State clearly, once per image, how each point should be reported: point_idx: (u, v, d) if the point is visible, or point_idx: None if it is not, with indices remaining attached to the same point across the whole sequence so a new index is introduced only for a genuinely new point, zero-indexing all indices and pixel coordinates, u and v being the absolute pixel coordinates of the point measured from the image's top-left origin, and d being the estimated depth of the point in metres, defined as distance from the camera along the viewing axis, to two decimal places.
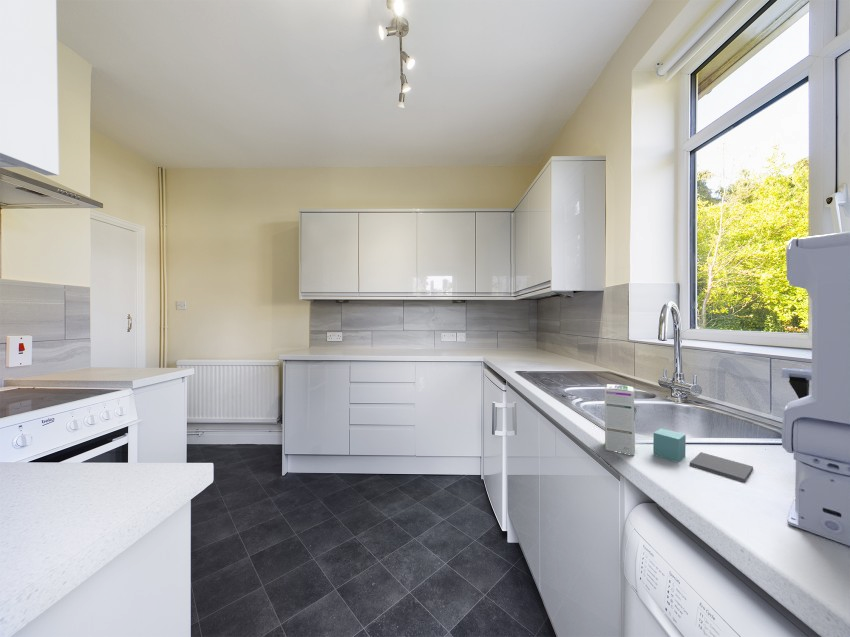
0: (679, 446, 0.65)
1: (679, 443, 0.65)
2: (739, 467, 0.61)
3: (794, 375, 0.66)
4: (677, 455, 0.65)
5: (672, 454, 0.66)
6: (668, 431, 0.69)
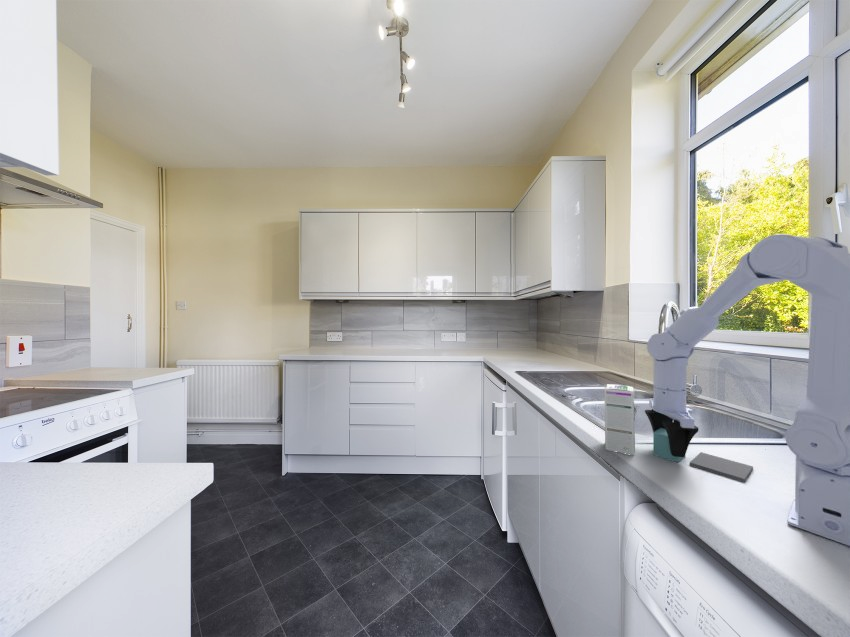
0: None
1: None
2: (739, 467, 0.61)
3: None
4: None
5: None
6: None
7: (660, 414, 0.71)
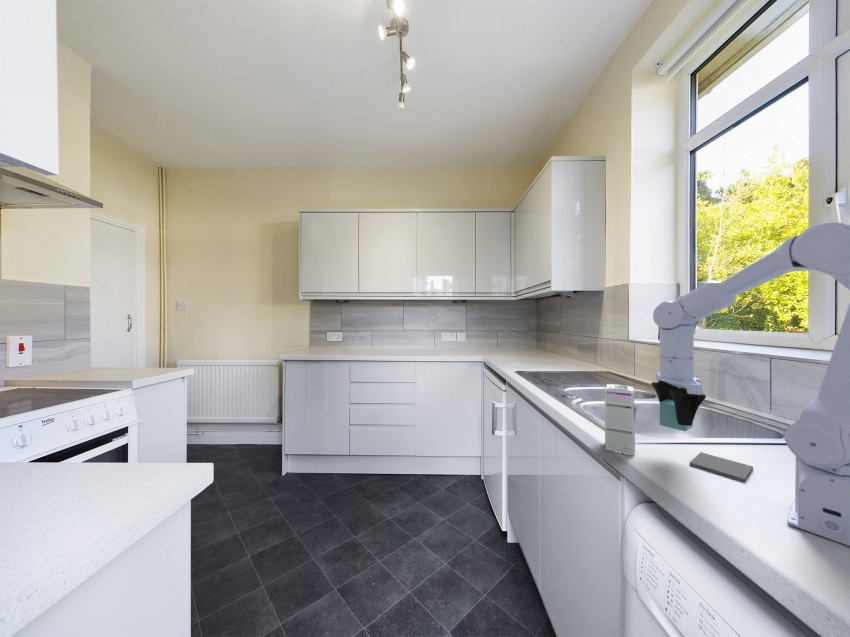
0: None
1: None
2: (739, 467, 0.61)
3: None
4: None
5: None
6: None
7: (667, 385, 0.70)
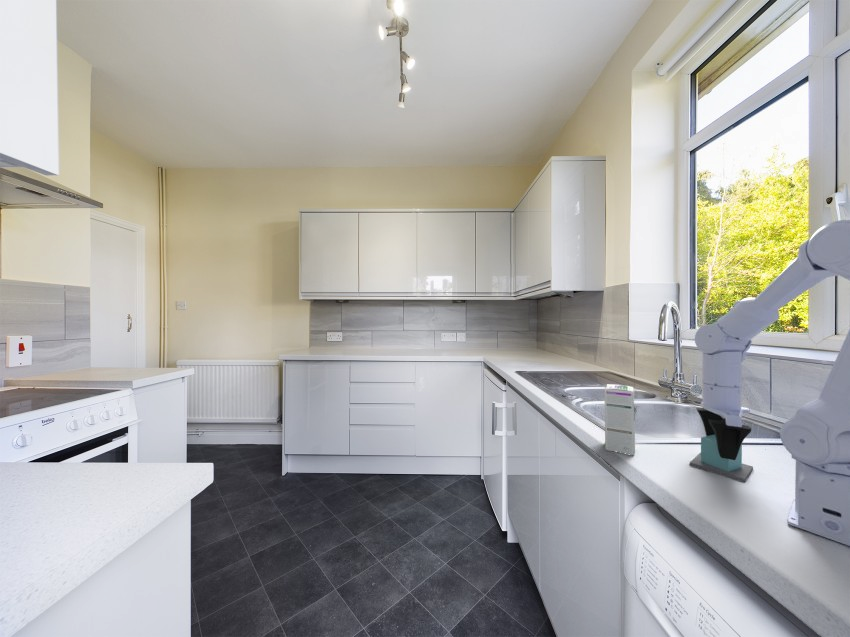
0: None
1: None
2: None
3: None
4: (727, 463, 0.60)
5: (721, 462, 0.61)
6: None
7: (713, 413, 0.66)
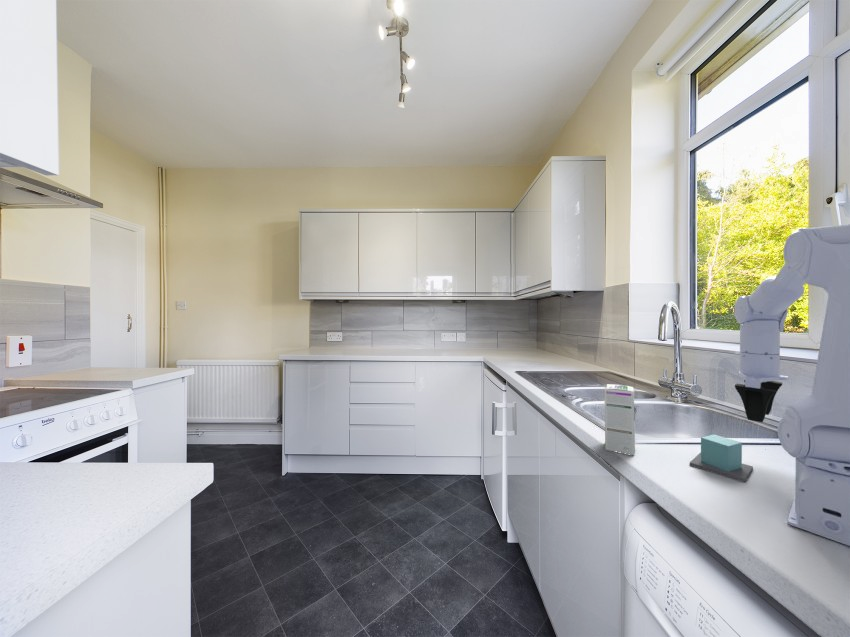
0: (729, 454, 0.60)
1: (729, 450, 0.60)
2: None
3: None
4: (727, 463, 0.60)
5: (721, 462, 0.61)
6: (721, 437, 0.64)
7: None
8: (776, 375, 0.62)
